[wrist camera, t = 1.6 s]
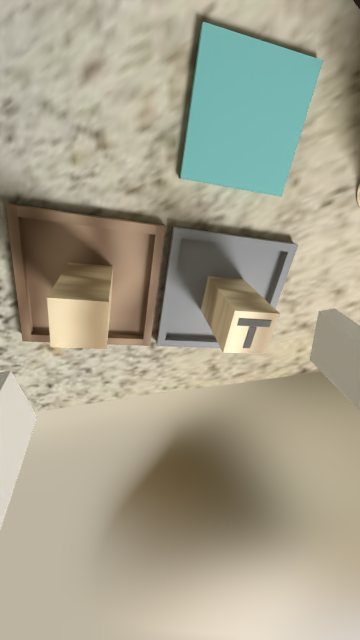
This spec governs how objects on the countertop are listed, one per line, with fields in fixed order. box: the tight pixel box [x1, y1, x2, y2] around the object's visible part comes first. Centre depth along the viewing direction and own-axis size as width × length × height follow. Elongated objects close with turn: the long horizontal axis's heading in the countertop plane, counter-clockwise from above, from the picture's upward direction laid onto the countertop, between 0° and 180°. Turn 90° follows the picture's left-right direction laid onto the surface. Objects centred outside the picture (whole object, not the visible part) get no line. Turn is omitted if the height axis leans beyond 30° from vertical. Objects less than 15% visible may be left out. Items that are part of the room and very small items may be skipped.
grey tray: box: [156, 226, 298, 348], centre depth 37 cm, size 16×16×1 cm
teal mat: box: [179, 22, 323, 197], centre depth 28 cm, size 12×12×1 cm
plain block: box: [47, 262, 113, 349], centre depth 29 cm, size 5×5×10 cm
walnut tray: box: [5, 204, 165, 346], centre depth 33 cm, size 16×16×1 cm
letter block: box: [201, 276, 280, 354], centre depth 33 cm, size 5×5×10 cm
